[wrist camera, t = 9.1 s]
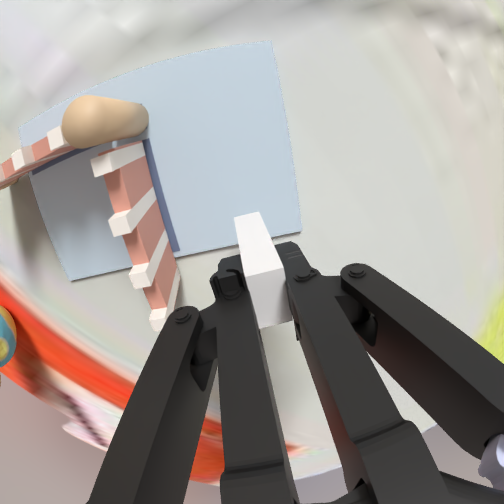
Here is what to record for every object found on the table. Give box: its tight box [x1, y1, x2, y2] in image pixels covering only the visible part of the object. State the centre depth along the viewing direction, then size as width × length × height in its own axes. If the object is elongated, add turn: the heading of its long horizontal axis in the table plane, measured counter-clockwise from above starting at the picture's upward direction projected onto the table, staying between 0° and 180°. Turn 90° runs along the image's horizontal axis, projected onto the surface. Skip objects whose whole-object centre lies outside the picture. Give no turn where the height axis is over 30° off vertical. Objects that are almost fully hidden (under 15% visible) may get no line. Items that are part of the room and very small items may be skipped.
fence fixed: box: [0, 95, 149, 190], centre depth 12 cm, size 14×2×8 cm, turn 101°
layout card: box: [18, 41, 302, 281], centre depth 17 cm, size 20×14×1 cm
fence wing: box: [90, 140, 181, 332], centre depth 16 cm, size 10×1×6 cm, turn 10°
